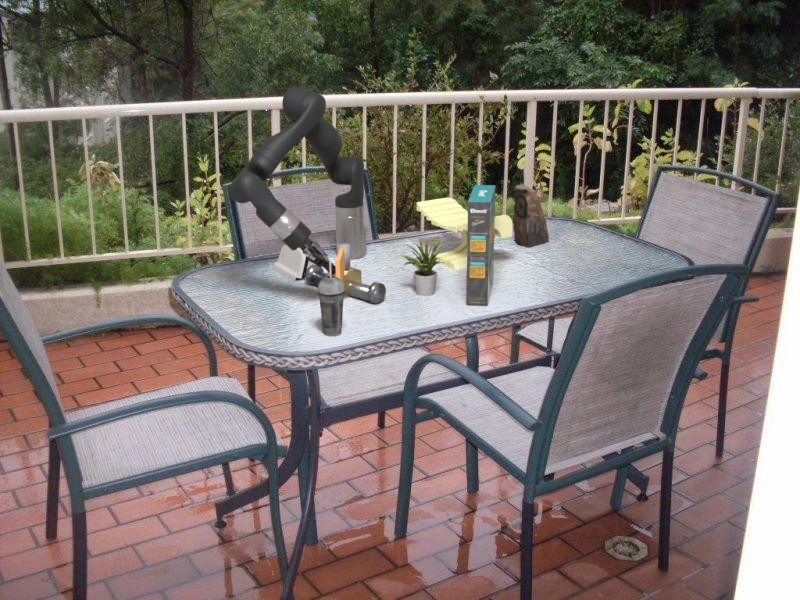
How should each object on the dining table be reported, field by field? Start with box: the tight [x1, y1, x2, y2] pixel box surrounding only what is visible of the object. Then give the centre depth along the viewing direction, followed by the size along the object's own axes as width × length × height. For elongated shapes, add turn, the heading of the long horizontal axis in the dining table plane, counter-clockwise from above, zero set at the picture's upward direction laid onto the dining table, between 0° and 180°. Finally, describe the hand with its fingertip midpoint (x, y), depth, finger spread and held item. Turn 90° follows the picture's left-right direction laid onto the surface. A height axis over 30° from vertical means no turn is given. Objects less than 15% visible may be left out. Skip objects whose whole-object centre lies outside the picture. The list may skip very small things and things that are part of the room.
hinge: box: [271, 244, 313, 283], centre depth 291 cm, size 17×5×10 cm, turn 31°
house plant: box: [399, 238, 445, 297], centre depth 271 cm, size 14×14×16 cm
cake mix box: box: [465, 184, 496, 307], centre depth 267 cm, size 22×6×30 cm, turn 171°
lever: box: [334, 243, 351, 281], centre depth 262 cm, size 19×4×7 cm, turn 178°
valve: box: [305, 264, 387, 305], centre depth 271 cm, size 7×28×8 cm, turn 48°
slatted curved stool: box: [416, 197, 513, 270], centre depth 301 cm, size 30×16×18 cm, turn 34°
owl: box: [512, 182, 550, 249], centre depth 321 cm, size 13×13×20 cm
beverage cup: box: [316, 260, 345, 337], centre depth 239 cm, size 7×7×20 cm
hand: (335, 272), depth 258 cm, fingers closed
